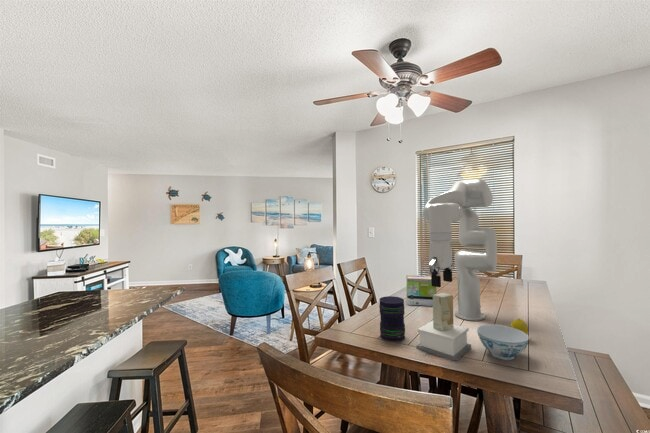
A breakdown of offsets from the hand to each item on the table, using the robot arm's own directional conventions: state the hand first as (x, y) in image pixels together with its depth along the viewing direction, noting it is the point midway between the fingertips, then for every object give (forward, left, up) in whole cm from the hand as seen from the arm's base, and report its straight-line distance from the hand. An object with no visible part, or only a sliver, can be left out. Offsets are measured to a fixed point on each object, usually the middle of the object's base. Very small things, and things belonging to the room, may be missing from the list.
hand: (442, 283), depth 106 cm
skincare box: (0, 0, -16) cm, 16 cm away
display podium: (0, 0, -23) cm, 23 cm away
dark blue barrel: (+4, -19, -23) cm, 30 cm away
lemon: (-26, +18, -23) cm, 39 cm away
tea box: (-45, -32, -24) cm, 60 cm away
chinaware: (-7, +17, -23) cm, 30 cm away
